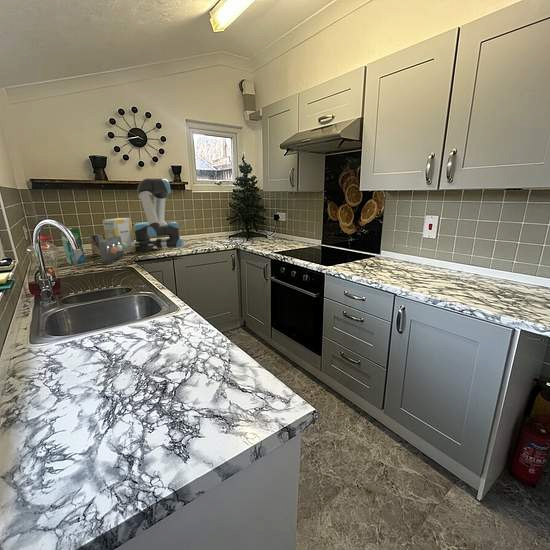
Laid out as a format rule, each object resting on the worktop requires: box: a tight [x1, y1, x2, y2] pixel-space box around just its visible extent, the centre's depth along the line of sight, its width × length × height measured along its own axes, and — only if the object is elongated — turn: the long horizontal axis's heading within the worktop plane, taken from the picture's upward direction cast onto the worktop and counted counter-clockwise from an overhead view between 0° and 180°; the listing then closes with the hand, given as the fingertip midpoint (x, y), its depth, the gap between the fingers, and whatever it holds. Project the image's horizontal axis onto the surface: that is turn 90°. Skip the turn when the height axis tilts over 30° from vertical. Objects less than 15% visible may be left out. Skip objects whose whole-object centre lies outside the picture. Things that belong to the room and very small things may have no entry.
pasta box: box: [102, 217, 137, 255], centre depth 242 cm, size 18×10×28 cm, turn 164°
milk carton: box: [60, 227, 86, 266], centre depth 213 cm, size 9×9×25 cm
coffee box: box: [88, 234, 106, 256], centre depth 241 cm, size 9×6×16 cm
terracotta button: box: [110, 247, 117, 254], centre depth 212 cm, size 3×4×4 cm
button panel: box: [95, 236, 125, 265], centre depth 220 cm, size 8×24×16 cm, turn 1°
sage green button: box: [121, 243, 127, 249], centre depth 227 cm, size 3×4×4 cm
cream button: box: [116, 245, 123, 251], centre depth 220 cm, size 3×4×4 cm
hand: (131, 244), depth 227 cm, fingers closed
